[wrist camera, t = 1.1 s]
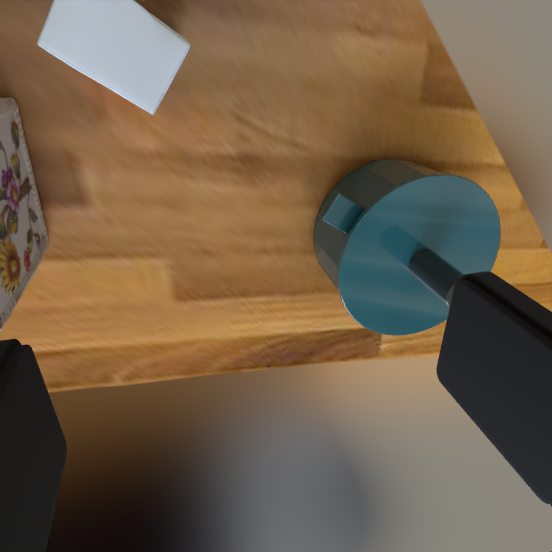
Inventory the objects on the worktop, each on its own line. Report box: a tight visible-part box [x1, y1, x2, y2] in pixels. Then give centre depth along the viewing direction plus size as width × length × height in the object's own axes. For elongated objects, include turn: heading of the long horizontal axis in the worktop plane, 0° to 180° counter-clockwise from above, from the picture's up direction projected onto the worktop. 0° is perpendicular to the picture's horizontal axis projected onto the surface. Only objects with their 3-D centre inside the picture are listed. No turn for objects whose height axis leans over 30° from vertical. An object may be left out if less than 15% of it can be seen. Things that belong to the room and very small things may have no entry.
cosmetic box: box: [37, 0, 191, 115], centre depth 25 cm, size 6×4×12 cm
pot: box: [314, 159, 439, 288], centre depth 39 cm, size 14×19×8 cm
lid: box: [337, 173, 500, 335], centre depth 34 cm, size 15×15×7 cm
